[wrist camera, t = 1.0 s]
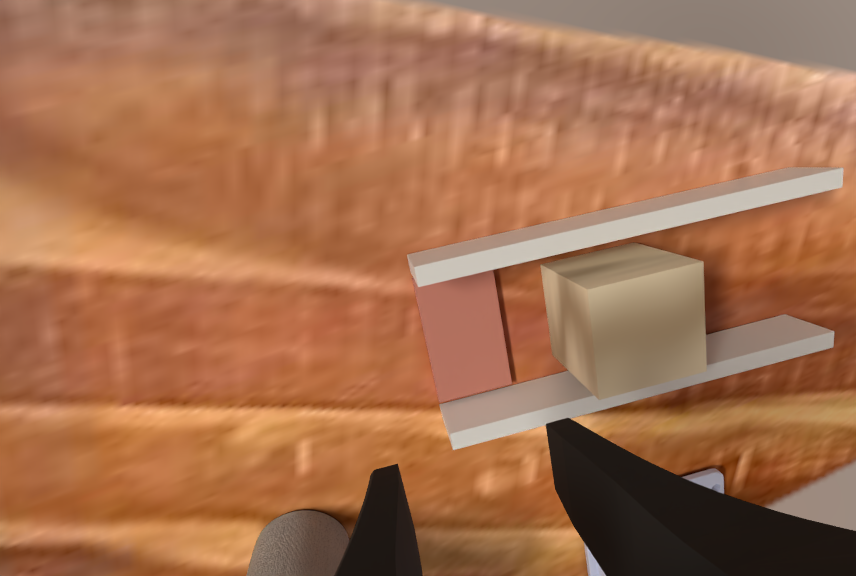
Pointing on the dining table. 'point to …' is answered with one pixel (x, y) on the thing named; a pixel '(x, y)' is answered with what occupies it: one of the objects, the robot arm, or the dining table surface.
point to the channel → (564, 391)
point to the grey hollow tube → (299, 546)
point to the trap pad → (464, 335)
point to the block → (626, 317)
